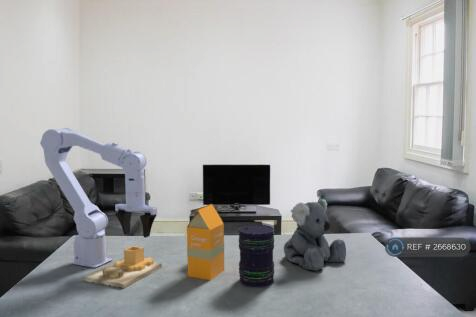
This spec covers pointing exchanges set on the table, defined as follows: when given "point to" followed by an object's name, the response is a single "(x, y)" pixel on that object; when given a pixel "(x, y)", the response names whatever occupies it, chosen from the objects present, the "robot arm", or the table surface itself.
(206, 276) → the orange juice
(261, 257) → the storage jar
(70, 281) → the table surface
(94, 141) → the robot arm
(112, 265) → the carrier plate
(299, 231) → the koala plush
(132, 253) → the gear
